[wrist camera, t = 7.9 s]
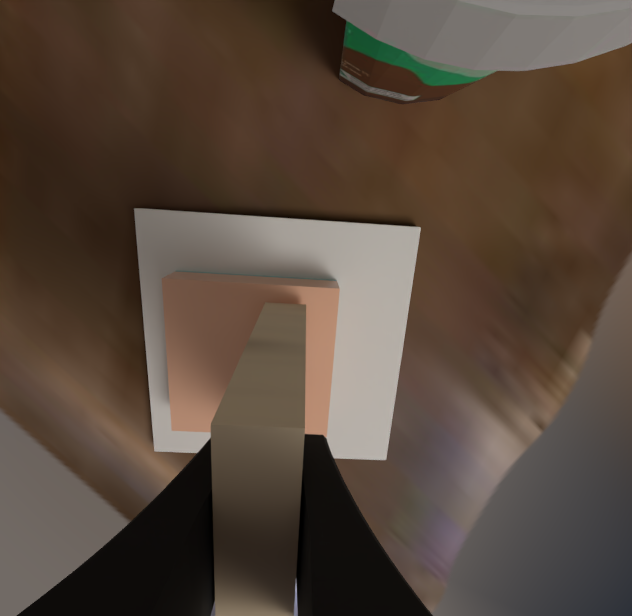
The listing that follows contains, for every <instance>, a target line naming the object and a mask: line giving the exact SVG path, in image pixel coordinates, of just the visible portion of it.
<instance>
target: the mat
mask: <svg viewBox="0 0 632 616" xmlns="http://www.w3.org/2000/svg"><path fill="white" fill-rule="evenodd" d="M134 214H135V226H136V238H137V250H138V262H139V274H140V286H141V297H142V309H143V321H144V333H145V345H146V357H147V369H148V381H149V392H150V404H151V416H152V428H153V440H154V451H158V452H184V453H198V452H199V451H200V449H201V448H202V447H203V446H204V445H205V444H206V442H207V441H208V440H209V439H210V438H211V432H188V431H172V429H171V414H170V398H169V383H168V368H167V353H166V337H165V322H164V307H163V292H162V278H163V277H165V276H167V275H169V274H171V273H173V272H175V271H193V272H210V273H227V274H244V275H260V276H277V277H294V278H311V279H328V280H337V282H338V285H339V288H340V292H339V304H338V315H337V327H336V338H335V349H334V361H333V372H332V383H331V395H330V406H329V418H328V429H327V437H326V439H327V442H328V445H329V448H330V451H331V453H332V456H333V458H343V459H370V460H386V457H387V450H388V443H389V437H390V430H391V423H392V417H393V410H394V403H395V397H396V390H397V383H398V377H399V370H400V363H401V357H402V350H403V343H404V337H405V330H406V323H407V317H408V310H409V303H410V297H411V290H412V283H413V276H414V270H415V263H416V256H417V250H418V243H419V236H420V230H421V227H416V226H401V225H386V224H371V223H356V222H341V221H326V220H311V219H296V218H280V217H265V216H250V215H235V214H220V213H205V212H190V211H175V210H160V209H145V208H134Z"/></svg>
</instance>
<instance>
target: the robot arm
mask: <svg viewBox="0 0 632 616" xmlns="http://www.w3.org/2000/svg"><path fill="white" fill-rule="evenodd" d="M17 616H215V581H214V542H213V503H212V464H211V438H210V439H209V440H208V441H207V442H206V444H205V445H204V446H203V447H202V448H201V449H200V451H199V452H198V453H197V454H196V455H195V456H194V457H193V459H192V460H191V461H190V462H189V463H188V464H187V465H186V466H185V468H184V469H183V470H182V471H181V472H180V473H179V474H178V475H177V476H176V477H175V478H174V479H173V480H172V481H171V482H170V483H169V485H168V486H167V487H166V488H165V489H164V490H163V491H162V492H161V493H160V494H159V495H158V496H157V497H156V498H155V499H154V500H153V501H152V502H151V503H150V504H149V505H148V506H147V507H146V508H145V509H143V510H142V511H141V512H140V513H139V514H138V515H137V516H136V517H135V518H134V519H133V520H132V521H131V522H130V523H129V524H128V525H127V526H126V527H125V528H124V529H122V531H120V532H119V533H118V534H117V535H116V536H115V537H114V538H113V539H111V540H110V541H109V542H108V543H107V544H106V545H104V546H103V548H101V549H100V550H99V551H98V552H96V553H95V554H94V555H93V556H92V557H90V558H89V559H88V560H87V561H86V562H84V563H83V564H82V565H81V566H80V567H79V568H77V569H76V570H75V571H73V572H72V573H71V574H70V575H68V576H67V577H66V578H65V579H63V580H62V581H61V582H60V583H59V584H57V585H56V586H54V587H53V588H52V589H51V590H49V591H48V592H47V593H46V594H44V595H43V596H42V597H40V598H39V599H38V600H37V601H35V602H34V603H33V604H31V605H30V606H29V607H27V608H26V609H25V610H23V611H22V612H21V613H20V614H18V615H17ZM294 616H433V615H432V614H431V613H430V612H429V610H428V609H427V608H426V607H425V605H424V604H423V603H422V602H421V600H420V599H419V598H418V596H417V595H416V594H415V592H414V591H413V590H412V588H411V587H410V586H409V584H408V583H407V582H406V580H405V579H404V578H403V576H402V575H401V573H400V572H399V571H398V569H397V568H396V566H395V565H394V563H393V562H392V561H391V559H390V558H389V556H388V555H387V553H386V552H385V550H384V549H383V547H382V546H381V544H380V543H379V541H378V540H377V538H376V537H375V535H374V533H373V532H372V530H371V528H370V527H369V525H368V523H367V522H366V520H365V519H364V517H363V515H362V513H361V512H360V510H359V508H358V506H357V505H356V503H355V501H354V499H353V497H352V495H351V493H350V491H349V490H348V488H347V486H346V484H345V482H344V480H343V478H342V476H341V474H340V472H339V469H338V467H337V465H336V463H335V460H334V458H333V456H332V453H331V451H330V448H329V445H328V442H327V439H326V437H325V436H324V435H318V434H305V436H304V453H303V469H302V486H301V502H300V519H299V536H298V552H297V569H296V585H295V602H294Z"/></svg>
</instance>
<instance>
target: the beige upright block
mask: <svg viewBox="0 0 632 616" xmlns="http://www.w3.org/2000/svg"><path fill="white" fill-rule="evenodd" d="M305 374H306V304H287V303H268V302H265V304H264V306H263V309H262V311H261V313H260V315H259V318H258V320H257V322H256V324H255V327H254V329H253V331H252V333H251V335H250V338H249V340H248V342H247V344H246V347H245V349H244V351H243V353H242V355H241V358H240V360H239V362H238V364H237V367H236V369H235V371H234V373H233V376H232V378H231V380H230V382H229V384H228V387H227V389H226V391H225V393H224V396H223V398H222V400H221V402H220V405H219V407H218V409H217V411H216V413H215V416H214V418H213V420H212V422H211V464H212V503H213V542H214V581H215V616H294V602H295V585H296V569H297V552H298V536H299V519H300V502H301V486H302V469H303V453H304V436H305Z"/></svg>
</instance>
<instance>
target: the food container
mask: <svg viewBox="0 0 632 616" xmlns="http://www.w3.org/2000/svg"><path fill="white" fill-rule="evenodd" d="M332 11H333V12H334V13H336V14H337V15H339V16H341V17H342V18H344V19H345V20H347V21H346V29H345V36H344V44H343V52H342V60H341V67H340V75H339V80H340V81H341V82H343V83H345V84H346V85H348V86H350V87H351V88H353V89H355V90H356V91H358V92H360V93H361V94H363V95H365V96H369V97H373V98H377V99H382V100H386V101H390V102H394V103H398V104H408V103H416V102H425V101H433V100H440V99H442V98H444V97H446V96H448V95H450V94H452V93H454V92H456V91H458V90H460V89H462V88H464V87H466V86H468V85H470V84H472V83H474V82H476V81H478V80H480V79H482V78H484V77H486V76H488V75H490V74H492V73H494V72H496V71H498V70H501V71H527V70H533V69H539V68H546V67H552V66H559V65H565V64H571V63H576V62H579V61H582V60H585V59H588V58H591V57H594V56H597V55H600V54H603V53H606V52H609V51H612V50H615V49H618V48H621V47H624V46H626V45H628V44H630V43H632V0H335V2H334V6H333V10H332Z"/></svg>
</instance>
